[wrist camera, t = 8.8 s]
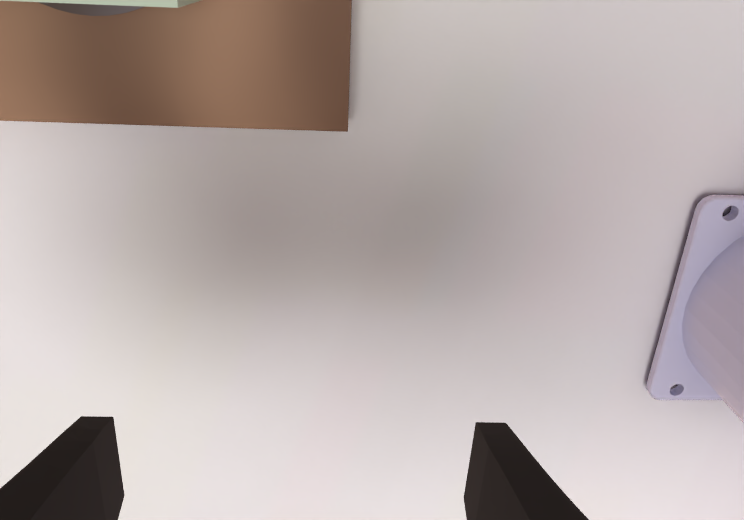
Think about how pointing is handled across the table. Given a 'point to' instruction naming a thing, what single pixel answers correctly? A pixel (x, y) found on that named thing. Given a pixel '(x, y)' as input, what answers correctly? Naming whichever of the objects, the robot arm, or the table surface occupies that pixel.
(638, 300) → the table surface
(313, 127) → the peg base
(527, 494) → the robot arm
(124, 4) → the collar
